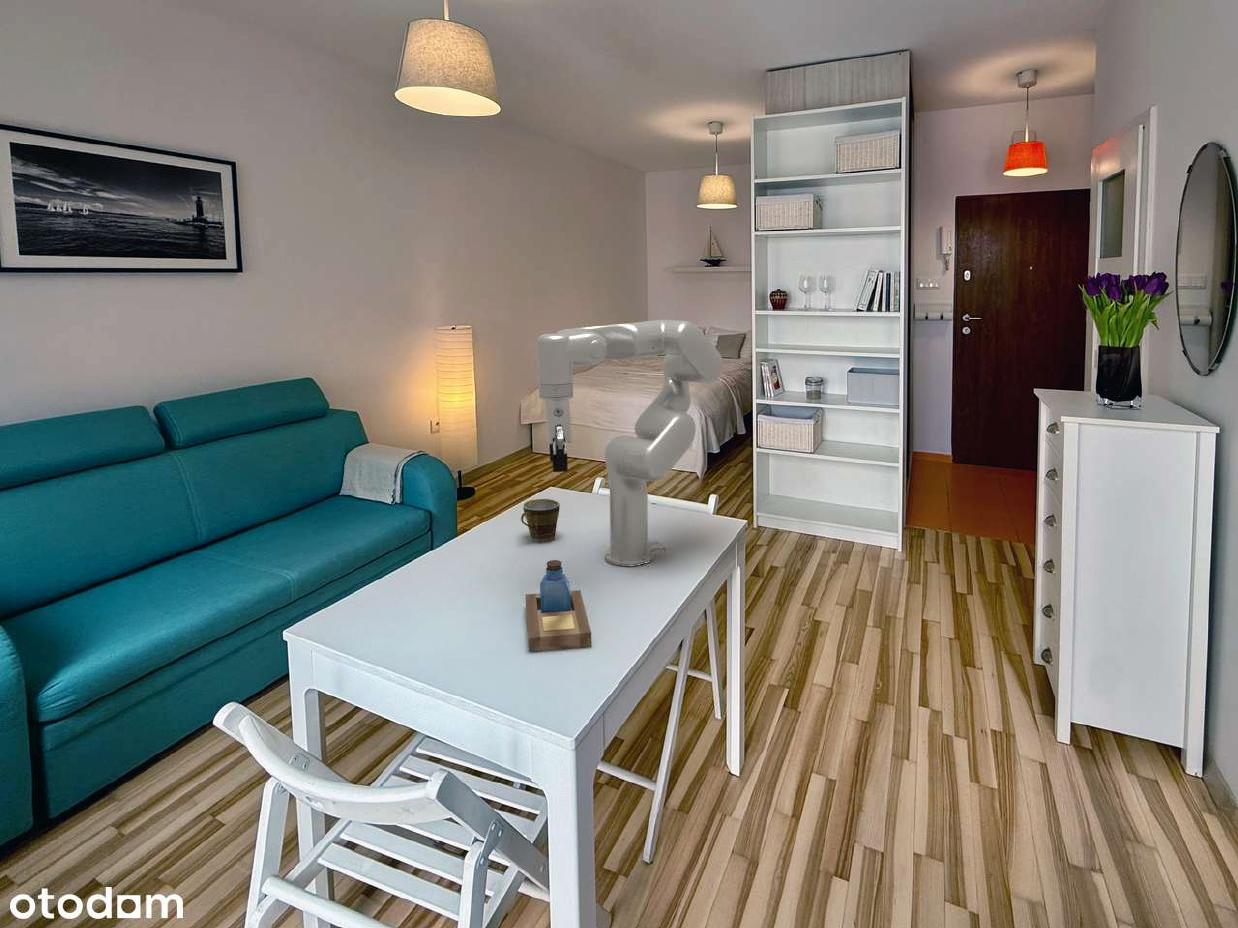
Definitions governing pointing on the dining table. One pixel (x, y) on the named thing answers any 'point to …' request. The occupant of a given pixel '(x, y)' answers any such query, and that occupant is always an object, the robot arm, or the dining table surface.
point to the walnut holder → (557, 625)
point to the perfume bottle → (555, 589)
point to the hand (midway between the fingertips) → (558, 465)
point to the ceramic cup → (541, 519)
